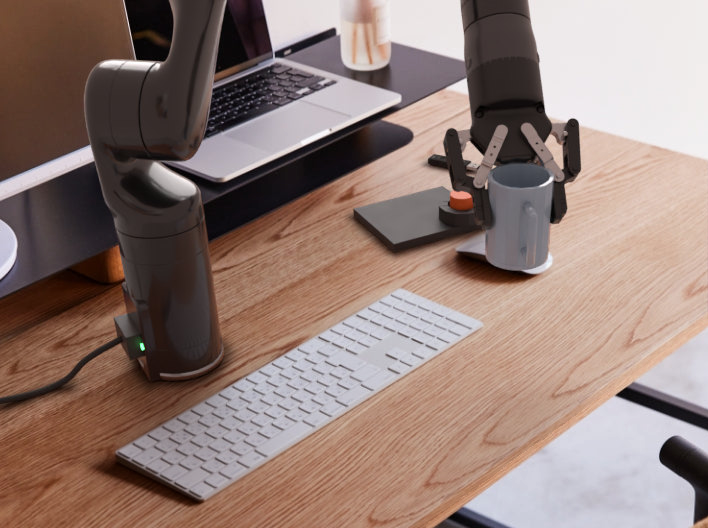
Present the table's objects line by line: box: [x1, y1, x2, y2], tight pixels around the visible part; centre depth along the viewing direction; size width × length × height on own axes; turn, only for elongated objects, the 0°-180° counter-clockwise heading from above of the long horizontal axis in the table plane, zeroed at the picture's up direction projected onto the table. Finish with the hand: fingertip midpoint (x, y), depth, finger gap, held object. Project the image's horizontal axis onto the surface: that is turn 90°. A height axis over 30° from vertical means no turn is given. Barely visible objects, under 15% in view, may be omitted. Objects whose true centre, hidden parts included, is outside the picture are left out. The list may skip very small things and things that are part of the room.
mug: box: [484, 162, 555, 271], centre depth 108 cm, size 9×6×9 cm
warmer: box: [352, 185, 482, 253], centre depth 143 cm, size 15×13×3 cm
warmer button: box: [450, 189, 473, 210], centre depth 141 cm, size 3×3×2 cm
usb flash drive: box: [427, 153, 481, 172], centre depth 158 cm, size 8×2×1 cm, turn 59°
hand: (521, 224), depth 108 cm, fingers closed on mug, 6 cm apart
